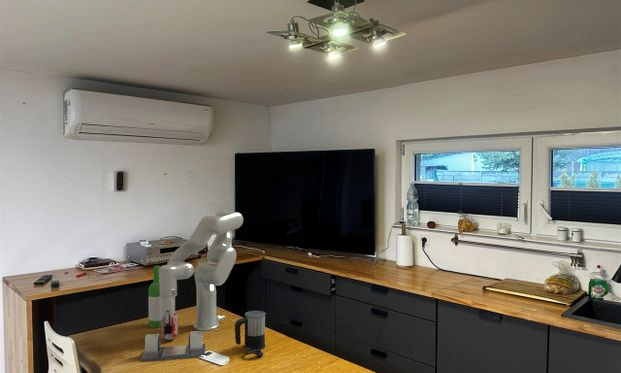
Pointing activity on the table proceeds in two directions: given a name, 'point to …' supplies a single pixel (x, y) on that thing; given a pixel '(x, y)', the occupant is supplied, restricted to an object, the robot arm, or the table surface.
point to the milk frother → (252, 331)
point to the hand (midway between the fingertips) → (169, 330)
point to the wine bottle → (155, 301)
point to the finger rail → (173, 348)
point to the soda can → (174, 327)
